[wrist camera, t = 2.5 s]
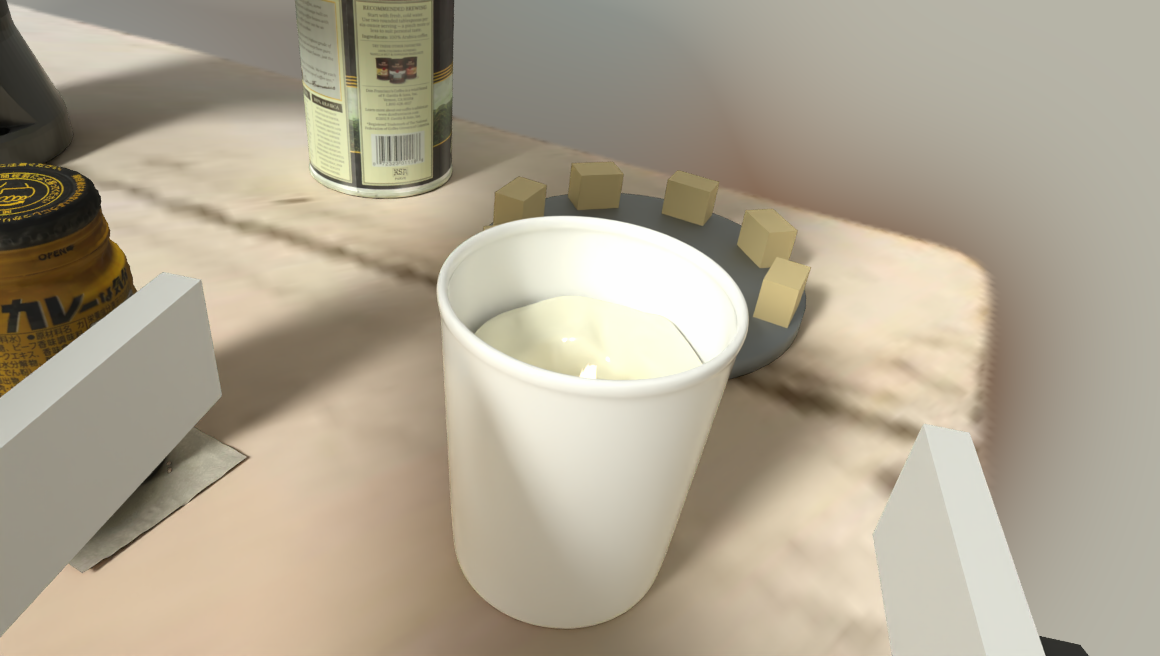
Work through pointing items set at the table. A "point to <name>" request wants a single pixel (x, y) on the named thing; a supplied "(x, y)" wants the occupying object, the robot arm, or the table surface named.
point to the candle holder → (577, 407)
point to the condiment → (80, 325)
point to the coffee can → (378, 94)
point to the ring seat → (689, 242)
